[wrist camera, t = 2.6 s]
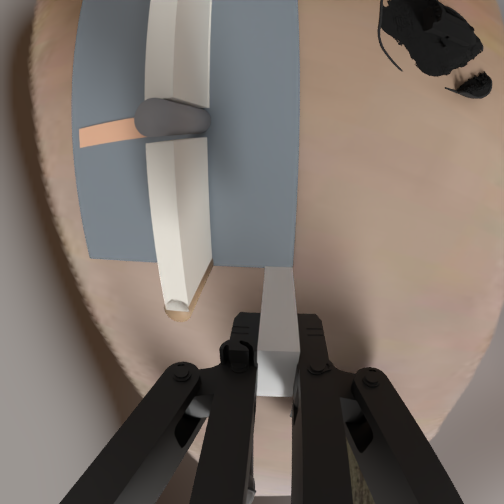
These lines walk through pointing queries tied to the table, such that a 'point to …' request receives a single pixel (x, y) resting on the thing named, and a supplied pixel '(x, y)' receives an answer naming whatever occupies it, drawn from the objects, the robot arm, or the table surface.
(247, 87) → the card
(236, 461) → the robot arm
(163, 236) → the cream upright panel
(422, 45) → the black jagged rounded shell
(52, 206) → the table surface
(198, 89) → the fixed fence section
